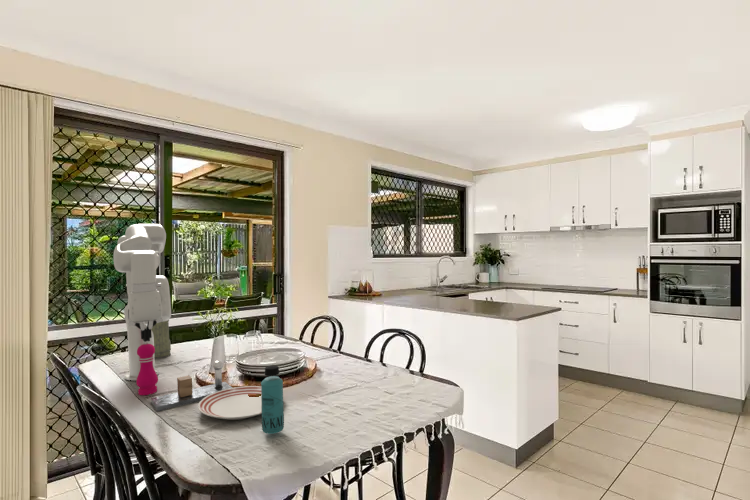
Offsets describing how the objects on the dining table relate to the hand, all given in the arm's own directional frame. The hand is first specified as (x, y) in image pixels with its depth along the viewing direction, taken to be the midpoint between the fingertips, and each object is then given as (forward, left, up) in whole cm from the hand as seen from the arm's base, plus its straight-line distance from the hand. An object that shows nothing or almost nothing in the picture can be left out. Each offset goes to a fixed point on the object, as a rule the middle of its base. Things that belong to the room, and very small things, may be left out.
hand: (146, 340), depth 148 cm
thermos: (-66, +17, -23) cm, 72 cm away
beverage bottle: (+49, +24, -23) cm, 59 cm away
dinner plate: (+24, +24, -23) cm, 41 cm away
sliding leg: (+3, +11, -21) cm, 24 cm away
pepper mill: (-14, +2, -23) cm, 27 cm away
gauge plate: (+3, +14, -23) cm, 27 cm away
